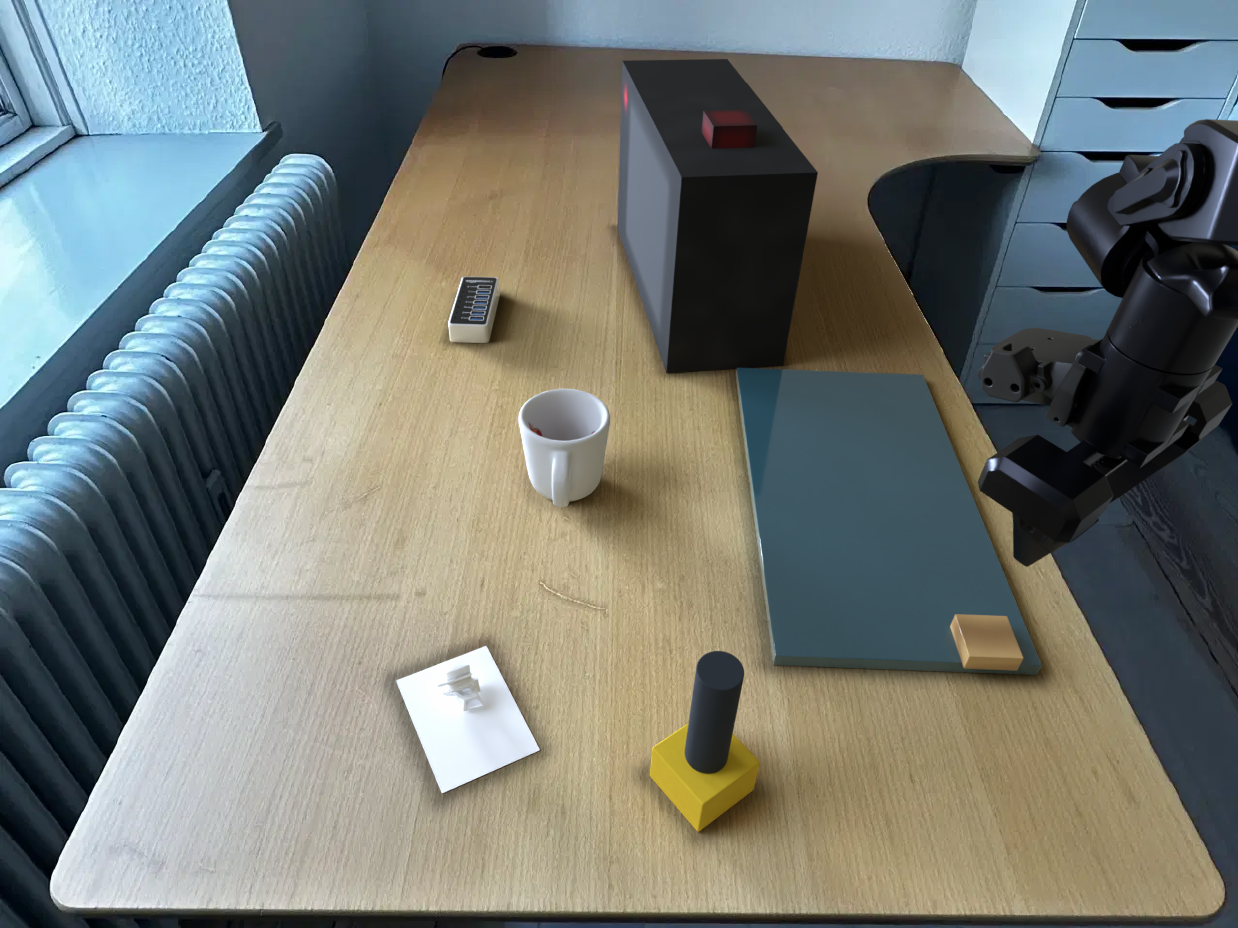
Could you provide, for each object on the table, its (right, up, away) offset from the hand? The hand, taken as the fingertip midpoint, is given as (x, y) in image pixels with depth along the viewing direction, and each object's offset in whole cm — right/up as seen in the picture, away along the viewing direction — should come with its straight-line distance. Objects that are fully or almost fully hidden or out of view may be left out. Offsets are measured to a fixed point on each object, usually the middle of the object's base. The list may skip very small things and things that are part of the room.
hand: (1060, 531), depth 61 cm
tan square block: (-3, -9, +7) cm, 12 cm away
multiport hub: (-47, +22, +43) cm, 67 cm away
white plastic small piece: (-41, -13, +2) cm, 43 cm away
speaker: (-20, +26, +49) cm, 59 cm away
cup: (-35, +2, +20) cm, 41 cm away
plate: (-8, +1, +21) cm, 22 cm away
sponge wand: (-25, -17, -1) cm, 30 cm away
